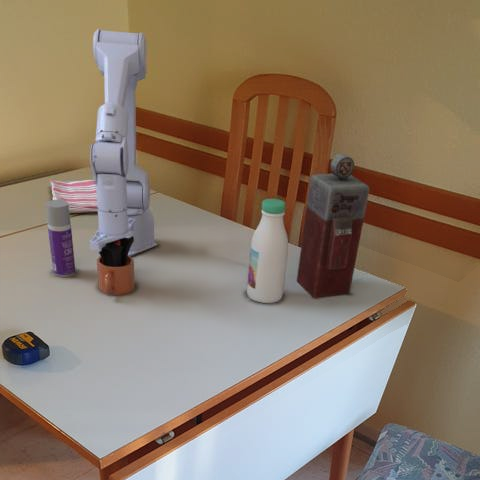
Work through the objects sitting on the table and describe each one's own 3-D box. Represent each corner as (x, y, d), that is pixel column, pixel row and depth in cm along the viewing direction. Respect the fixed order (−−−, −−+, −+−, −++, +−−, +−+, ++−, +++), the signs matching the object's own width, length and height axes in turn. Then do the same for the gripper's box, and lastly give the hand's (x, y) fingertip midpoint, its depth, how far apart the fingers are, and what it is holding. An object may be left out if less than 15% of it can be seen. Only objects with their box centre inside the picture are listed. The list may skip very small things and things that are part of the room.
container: (70, 278, 134) (62, 208, 125) (49, 275, 135) (40, 205, 125) (79, 270, 138) (72, 201, 128) (59, 266, 138) (51, 198, 129)
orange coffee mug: (104, 277, 136) (102, 251, 132) (138, 281, 135) (137, 255, 132) (90, 299, 127) (87, 271, 124) (126, 303, 127) (124, 275, 123)
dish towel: (54, 215, 162) (53, 202, 160) (49, 186, 180) (48, 174, 177) (121, 213, 167) (120, 200, 165) (110, 185, 184) (109, 173, 182)
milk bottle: (286, 292, 136) (298, 199, 124) (276, 307, 130) (287, 211, 118) (253, 284, 138) (261, 192, 126) (241, 299, 132) (249, 204, 120)
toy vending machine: (318, 303, 133) (340, 166, 116) (296, 280, 141) (313, 149, 124) (355, 299, 136) (381, 164, 119) (331, 277, 144) (353, 148, 127)
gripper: (111, 223, 116) (114, 290, 124) (148, 200, 127) (149, 264, 135) (78, 215, 117) (84, 282, 126) (117, 194, 128) (120, 257, 137)
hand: (116, 272), depth 130 cm, fingers closed on marker, 2 cm apart
